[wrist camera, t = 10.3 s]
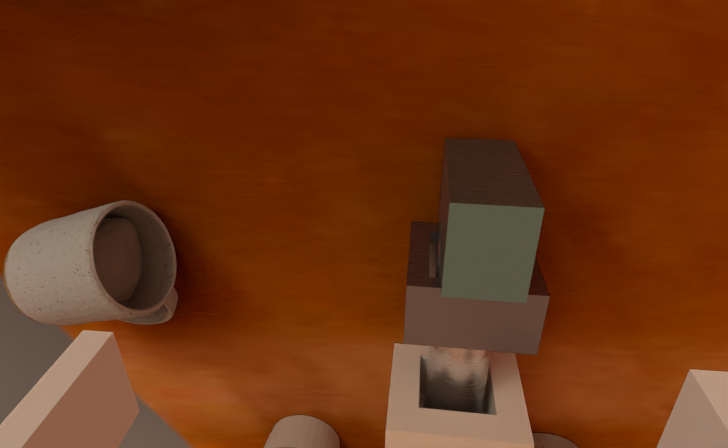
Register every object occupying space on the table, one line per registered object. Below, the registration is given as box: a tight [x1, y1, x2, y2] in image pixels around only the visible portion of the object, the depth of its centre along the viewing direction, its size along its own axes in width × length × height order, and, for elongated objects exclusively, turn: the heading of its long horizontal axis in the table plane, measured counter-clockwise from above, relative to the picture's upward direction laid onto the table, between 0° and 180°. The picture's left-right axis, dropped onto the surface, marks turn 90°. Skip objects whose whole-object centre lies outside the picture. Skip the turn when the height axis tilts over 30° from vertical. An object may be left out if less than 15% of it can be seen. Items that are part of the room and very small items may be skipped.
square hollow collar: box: [403, 222, 550, 355], centre depth 30 cm, size 4×7×7 cm, turn 90°
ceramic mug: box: [3, 200, 178, 326], centre depth 34 cm, size 11×8×8 cm
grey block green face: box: [424, 138, 545, 414], centre depth 30 cm, size 20×4×9 cm, turn 0°
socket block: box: [385, 343, 534, 448], centre depth 35 cm, size 5×9×8 cm, turn 90°
